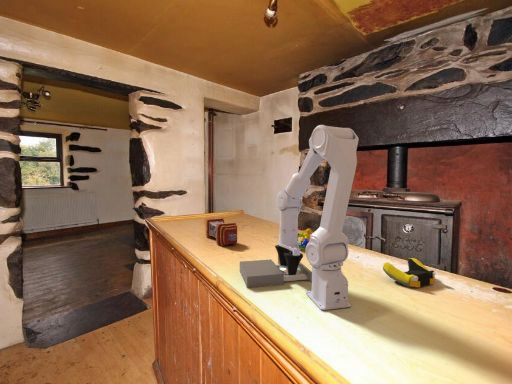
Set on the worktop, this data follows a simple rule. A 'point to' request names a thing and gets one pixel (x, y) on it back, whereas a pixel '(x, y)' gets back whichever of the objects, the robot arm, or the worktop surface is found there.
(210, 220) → the lantern
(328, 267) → the robot arm
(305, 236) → the decorative model
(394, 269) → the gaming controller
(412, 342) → the worktop surface
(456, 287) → the worktop surface
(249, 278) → the box
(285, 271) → the disc
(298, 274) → the tray
